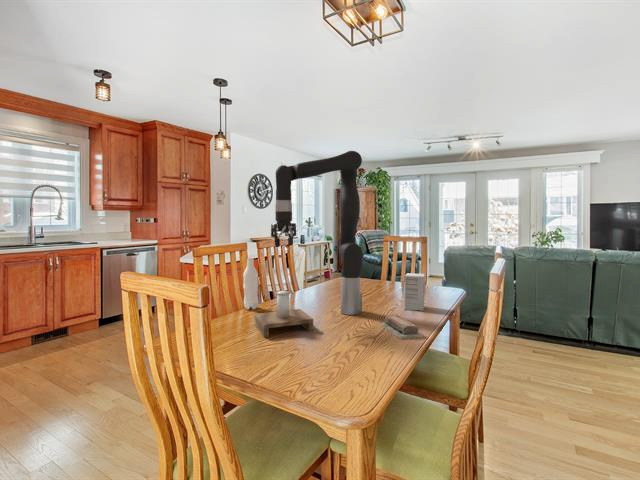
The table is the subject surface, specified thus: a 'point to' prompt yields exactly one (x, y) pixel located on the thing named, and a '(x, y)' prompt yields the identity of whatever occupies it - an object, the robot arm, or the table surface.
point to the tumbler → (283, 304)
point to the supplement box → (414, 291)
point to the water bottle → (250, 285)
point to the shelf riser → (282, 321)
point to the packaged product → (400, 327)
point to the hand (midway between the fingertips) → (284, 246)
